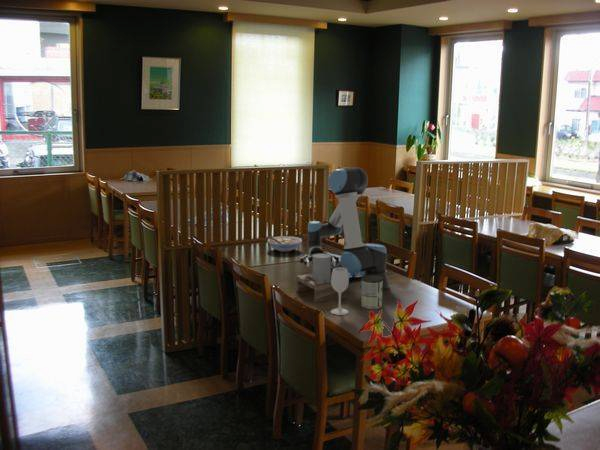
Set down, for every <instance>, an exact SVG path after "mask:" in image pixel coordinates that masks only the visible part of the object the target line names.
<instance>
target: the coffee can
mask: <svg viewBox="0 0 600 450" xmlns="http://www.w3.org/2000/svg"><path fill="white" fill-rule="evenodd" d="M361 279H362V288H361V296H360V299H361V300H360V302H361V303H360V306H361V307H362V308H365V309H369V310H370V309H371V310H375V309H380V308H382V307H383V290H382V283H383V277H381V276H378V275H365V276H363V275H362V276H361V278H360V280H361Z"/></svg>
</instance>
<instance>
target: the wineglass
mask: <svg viewBox="0 0 600 450" xmlns="http://www.w3.org/2000/svg"><path fill="white" fill-rule="evenodd" d="M331 274H332V277H331V284H332V287H333V289H334V290H335V291H337V292H338V294H339V299H338V307H337V308H333V309H331V310H330V311H329V312H330V314H332V315H334V314H335V315H336V316H345V315H348V314H349V313H350V312H349V310H348V309H345V308H342V302H341V301H342V298H341V293H342V292H343V291H345V290H346V289H347V287H348V288H349V282H350V279H349V278H350V277H349V273H348V271H347V269H346V268H343V267H342V266H339V267H334V268H332V270H331Z"/></svg>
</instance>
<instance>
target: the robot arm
mask: <svg viewBox="0 0 600 450" xmlns="http://www.w3.org/2000/svg"><path fill="white" fill-rule="evenodd" d="M327 183H328V188H329V189H330V191H331V192H333V193H334V196H335V198H337V200H338V203H337V206H336V208H335V209H334V211H333V213H332V214H331V216H330V217H329V220H328V221H327V222H326V223H322V222H321V221H316V220H315V221H313V220H312V221H311V220H310V221H309V222H307V223H308V225H307V245H306V251H307V253H306V254H304V255H303V256H302V257H300V258H299V259H300V261H299V262H300V263H301V264H303V265H304V266H307V268H309V267H310V262H313V255H314V254H318V253H324V252H325V251H324V250H323V249H322V239H323V238H327V237H334V236H337V235H340V234H342V232H343V236H344V243H345V245H344V246H343V248H342V249H343V252H342V253H341V255H340V257H338V256H336V255H334V254H331V253H329V254H330V255H331V264H332V265H333V267H336V264H337V263H340V265H341V267H342V268H346V269H347V271H348V274H359V273H362V272H363V274H362V276H365V275H378V276H381V277H383V283H382V291H386V290H388V289H389V288H390V283H389V279H388V276H387V255H388V253H387V247H386V246H385V245H383V244H379V243H364V242H363V240H362V234H361V227H360V226H361V225H360V221H359V214H358V207H357V201H358V200H359V197H360V195H363V194H364V192H365V191H366V189H367V186H368V183H369V177H368V174H367V173H366V171H365V170H364V169H362V168H361V167H357V166H355V167H354V166H353V167H343V168H338V169H334V170H332V171H331V173H330V175H329V176H328V179H327ZM360 288H361V289H362V279H361V278H360Z"/></svg>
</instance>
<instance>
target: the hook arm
mask: <svg viewBox="0 0 600 450" xmlns="http://www.w3.org/2000/svg"><path fill="white" fill-rule="evenodd" d="M312 278H313V276H310V280H311V281H313V282H315V283H317V284H321V283H329V282H331V280H329V281H323V282H321V281H315V280H313V279H312Z"/></svg>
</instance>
